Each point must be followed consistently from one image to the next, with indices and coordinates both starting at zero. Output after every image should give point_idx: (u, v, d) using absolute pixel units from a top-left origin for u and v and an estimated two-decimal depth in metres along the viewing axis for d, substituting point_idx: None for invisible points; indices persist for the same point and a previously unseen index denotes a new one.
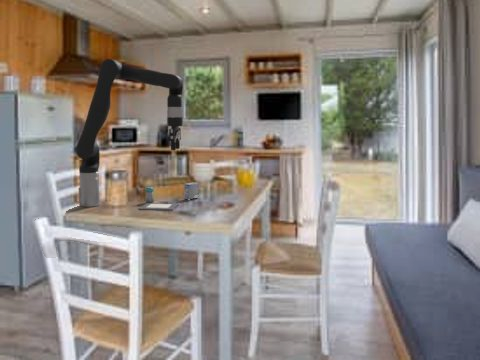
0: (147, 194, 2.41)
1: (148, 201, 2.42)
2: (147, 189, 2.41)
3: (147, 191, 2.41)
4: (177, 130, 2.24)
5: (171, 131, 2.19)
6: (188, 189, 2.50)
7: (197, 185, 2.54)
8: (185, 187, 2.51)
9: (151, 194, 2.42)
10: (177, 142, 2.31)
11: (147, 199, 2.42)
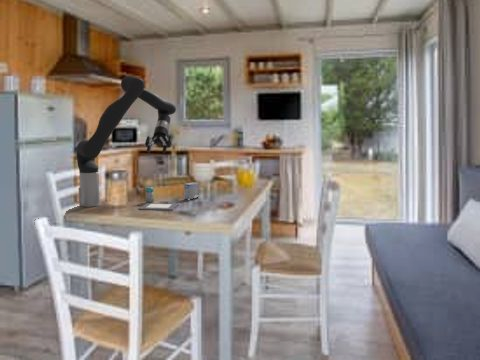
0: (147, 194, 2.41)
1: (148, 201, 2.42)
2: (147, 189, 2.41)
3: (147, 191, 2.41)
4: None
5: (171, 139, 2.56)
6: (188, 189, 2.50)
7: (197, 185, 2.54)
8: (185, 187, 2.51)
9: (151, 194, 2.42)
10: (150, 147, 2.54)
11: (147, 199, 2.42)
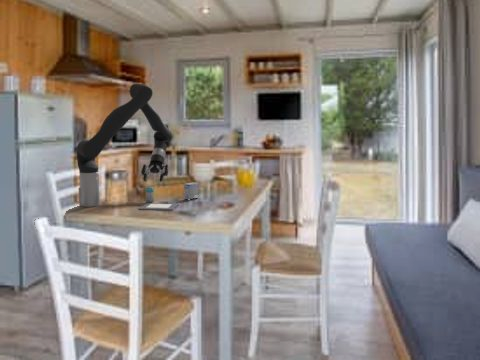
0: (147, 194, 2.41)
1: (148, 201, 2.42)
2: (147, 189, 2.41)
3: (147, 191, 2.41)
4: None
5: (167, 167, 2.53)
6: (188, 189, 2.50)
7: (197, 185, 2.54)
8: (185, 187, 2.51)
9: (151, 194, 2.42)
10: (146, 176, 2.51)
11: (147, 199, 2.42)
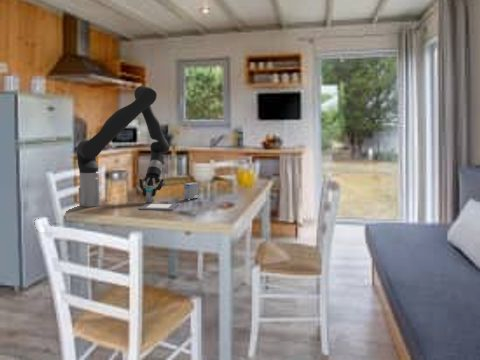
0: (147, 194, 2.41)
1: (148, 201, 2.42)
2: (147, 189, 2.41)
3: (147, 191, 2.41)
4: None
5: (163, 182, 2.46)
6: (188, 189, 2.50)
7: (197, 185, 2.54)
8: (185, 187, 2.51)
9: (151, 194, 2.42)
10: (145, 190, 2.44)
11: (147, 199, 2.42)
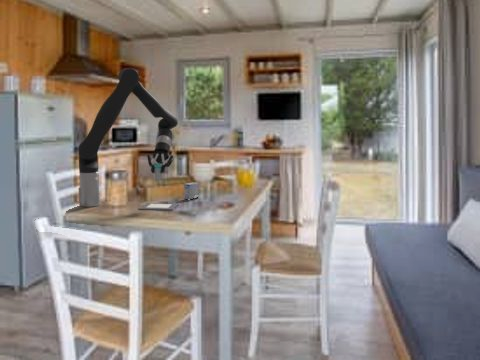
0: (156, 171, 2.28)
1: (157, 178, 2.28)
2: (156, 165, 2.27)
3: (156, 167, 2.27)
4: None
5: (172, 158, 2.32)
6: (188, 189, 2.50)
7: (197, 185, 2.54)
8: (185, 187, 2.51)
9: (160, 171, 2.28)
10: None
11: (156, 176, 2.28)
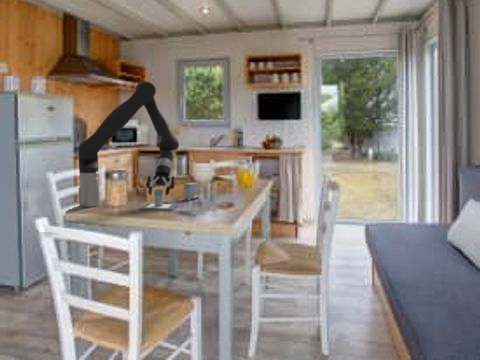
0: (156, 197, 2.29)
1: (157, 204, 2.29)
2: (156, 192, 2.28)
3: (156, 194, 2.29)
4: None
5: (174, 179, 2.34)
6: (188, 189, 2.50)
7: (197, 185, 2.54)
8: (185, 187, 2.51)
9: (160, 197, 2.29)
10: (151, 189, 2.31)
11: (156, 202, 2.29)
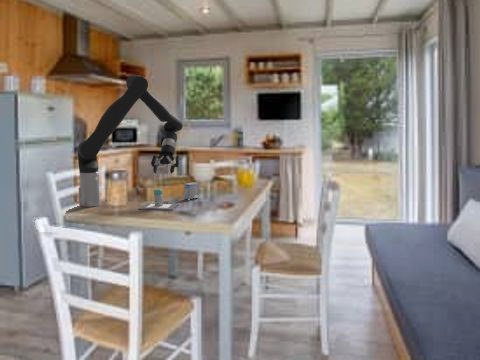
0: (156, 197, 2.29)
1: (157, 204, 2.29)
2: (156, 191, 2.28)
3: (156, 193, 2.29)
4: None
5: (178, 158, 2.42)
6: (188, 189, 2.50)
7: (197, 185, 2.54)
8: (185, 187, 2.51)
9: (160, 196, 2.29)
10: (156, 167, 2.40)
11: (156, 202, 2.29)
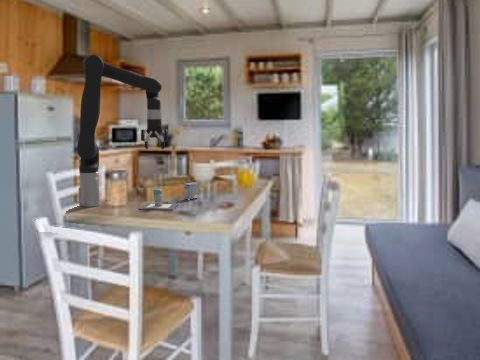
0: (156, 197, 2.29)
1: (158, 204, 2.29)
2: (156, 191, 2.28)
3: (156, 193, 2.29)
4: None
5: (167, 131, 2.42)
6: (188, 189, 2.50)
7: (197, 185, 2.54)
8: (185, 187, 2.51)
9: (160, 196, 2.30)
10: (147, 142, 2.45)
11: (156, 202, 2.29)
